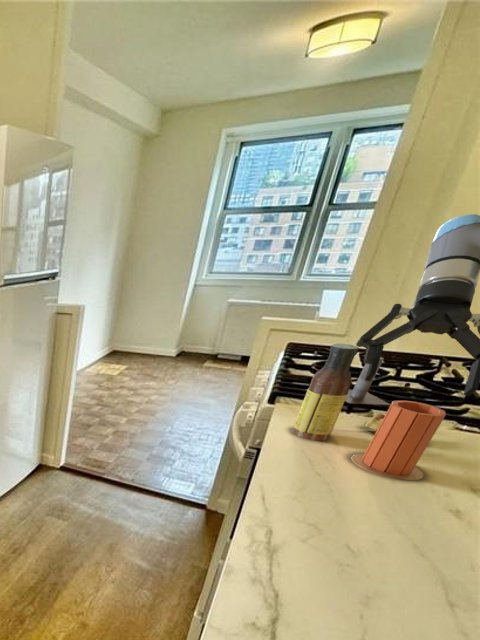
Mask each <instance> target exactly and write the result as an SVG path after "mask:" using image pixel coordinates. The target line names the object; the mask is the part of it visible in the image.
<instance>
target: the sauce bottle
mask: <svg viewBox="0 0 480 640" xmlns="http://www.w3.org/2000/svg"><path fill="white" fill-rule="evenodd" d="M359 349H360V347H358V346H357V345H353V344H349V343H333V344H332V345H331V347H330V348H329V355H328V357H327V360H326V361H325V363H324V366H323V367H322V368H321V369H319V370H317V371H316V372H315V374H314V375H313V377H312V379H311V381H310V383H309V384H310V385H309V387H308V388H307V390H306V393H305V396H304V398H303V401H302V403H301V407H300V409H299V412H298V414H297V417H296V420H295V422H294V425H293V434H295V435H296V436H298V437H300V438H302V439H306V440H309V441H315V442H316V441H317V442H324V441H327V440H328V439H329V438H330V436H331V434H332V433H333V431H334V427H335V425H336V423H337V420H338V418H339V415H340V413H341V411H342V409H343V406H344V404H345V403H346V401H345V399H346V397H347V394H348V391H349V390H350V388H351V384H352V379H351V373H350V368H351V367H352V363H353V360H354V358H355V356H357V355H358V352H359Z"/></svg>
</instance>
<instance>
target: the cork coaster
mask: <svg viewBox="0 0 480 640" xmlns="http://www.w3.org/2000/svg"><path fill="white" fill-rule="evenodd" d="M364 454H365V452H359V453H355V454H353V455H352V456H351V459H350V460H351V461H352V462H353V463H354V464H355V465H356V466H357V467H359V468H361V469H363V470H365V471H366V472H367V471H368V472H369V473H372V474H375V475H378V476H381V477H385V478H389V479H395V480H401V481H418V480H421V479H422V478H423V477H424V473H423V471H422V470H421V469H419V468H418V467H417V466H415V467H414V469H413V470H412V472H411V473H410V474H406V475H397V474H391V473H386V472H382V471H379V470H376V469H374V468H371V467H369V466H368V465H366V464H365V463H363V461H362V458H363V456H364Z"/></svg>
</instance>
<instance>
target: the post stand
mask: <svg viewBox="0 0 480 640" xmlns="http://www.w3.org/2000/svg"><path fill="white" fill-rule="evenodd" d="M384 360H385V359H384V357H382V356H381V357H380V360H379V364H378V367H377V370H376V373H375V375H374V377H373V378H372V379H371V380H370V381H366V380H365V378H366V375H367V372H368V368H369V365H370V364H366V363H364V366H363V368H362V370H361V371H360V374H359V376H358V377H357V380H356V383H355V384H354V387H352V388H353V389H352V390H350V389H349V391H348V394H347V397H346V399H345V403H347V404H353V405H379V406H390V405H391V403H389V402H387V401H385V400H384V399H381V398H379V397H378V396H375V395H373V394H371V393H369V390H370V387H371V386H372V383H373V381H374V379H375V377H376V375H377V373H378V372H379V369H380V367H381V366H382V363H383V361H384Z"/></svg>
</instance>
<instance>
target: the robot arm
mask: <svg viewBox="0 0 480 640" xmlns="http://www.w3.org/2000/svg"><path fill="white" fill-rule="evenodd" d="M479 279H480V215H479V214H477V213H471V214H464V215H460V216H457V217H454V218H451V219H449V220H448V221H445V222H444V223H443V224H442V225H440V227H439V228H438V229H437V231H436V233H435V236H434V238H433V241H432V242H431V245H430V248H429V252H428V256H427V259H426V262H425V266H424V270H423V274H422V277H421V279H420V283H419V286H418V291H417V293H416V296H415V299H414V302H413V304H412V305H413V306H412V307H411V308H409V307H403V305H402V304H401V303H395V304H394V305H392V307H391V309H390V310H389V311H388V313H387V314H386V315H385V316H384V317H383V318H381V320H379V321H378V322H377V323H376V324H374V325H373V326H371V328H369V329H368V330H367V331H366V332H365V333H364V334H363V335H361V336H360V337H359V339H358V340H357V342H356V344H355V346H357V347H359V348H364V349H365V354H364V358H363V363H364V364H370V365H369V368H368V372H367V375H366V378H365V380H366V381H370V380H371V379H372V378H373V377H374V375H375V373H376V370H377V367H378V364H379V360H380V357H382V354H383V351H384V347H385V346H386V345H387V344H390V343H391V342H393V341H395V340H397V339H400V338H401V337H403V336H404V335H409V334H410V333H412V332H415V331H419V332H420V333H424V334H430V333H432V334H435V335H441V336H442V335H444V334H447V336H449V337H450V339H452V340H455V341H456V342H457V343H459V345H460V346H461V347H463V349H464V350H465V351H466V352H467V353H469V355H470V356H471V357H472V358H473V359H474V360H475V361H474V362H473V363H472V364H471V367H470V370H469V373H468V377H467V380H466V384H465V388H464V390H463V391H464V392H463V396H467V397H469V396H471V395H473V394H474V393H475V392H476V391H477V390H478V389H479V385H480V338H479V336H477V335H476V334H475V332H474V331H472V330H471V327H470V324H468V322H471V323H472V324H473V327H475V328H476V329H477V332H478V334H479V335H480V313H472V311H471V307H472V304H473V300H474V296H475V293H476V288H477V286H478V282H479ZM404 316H406V318H407V319H408V321H407V322H406V323H404V324H401V325H400V326H398V327H396V328H394V329H392V330H391V331H388V332H386V333H384V334H383V335H380V336H377V335H378V334H379V333H381V332H382V331H383V330H384V329H386V328H387V327H388V326H389V325H391V324H392V322H394V320H398V319H401V318H402V317H404ZM376 336H377V338H375V337H376ZM374 338H375V339H374ZM376 374H377V373H376ZM375 376H376V375H375ZM374 378H375V377H374Z"/></svg>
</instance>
